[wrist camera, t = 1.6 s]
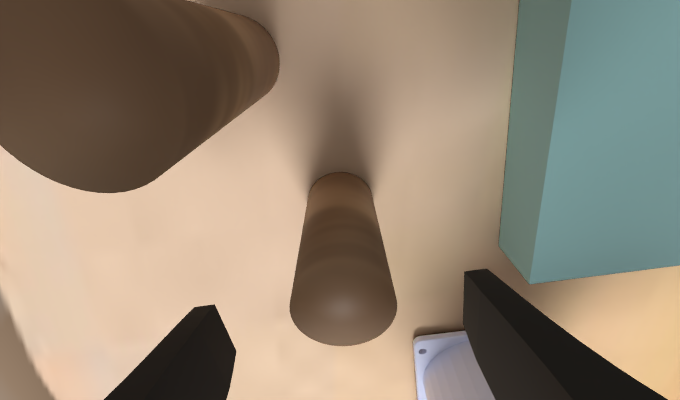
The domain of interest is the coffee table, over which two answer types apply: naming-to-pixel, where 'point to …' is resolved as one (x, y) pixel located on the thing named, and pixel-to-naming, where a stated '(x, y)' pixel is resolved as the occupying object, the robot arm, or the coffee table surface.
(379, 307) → the short pin
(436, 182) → the coffee table surface
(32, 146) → the tall pin
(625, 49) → the block
